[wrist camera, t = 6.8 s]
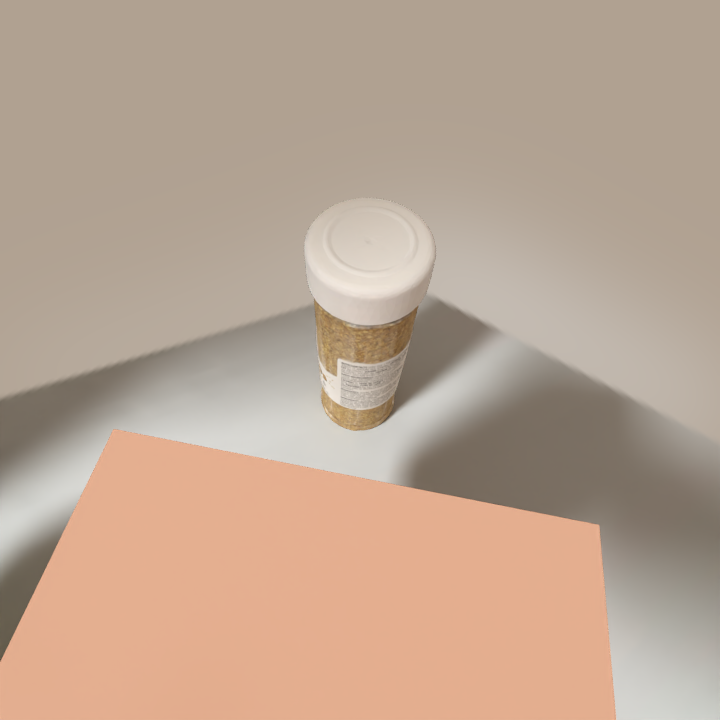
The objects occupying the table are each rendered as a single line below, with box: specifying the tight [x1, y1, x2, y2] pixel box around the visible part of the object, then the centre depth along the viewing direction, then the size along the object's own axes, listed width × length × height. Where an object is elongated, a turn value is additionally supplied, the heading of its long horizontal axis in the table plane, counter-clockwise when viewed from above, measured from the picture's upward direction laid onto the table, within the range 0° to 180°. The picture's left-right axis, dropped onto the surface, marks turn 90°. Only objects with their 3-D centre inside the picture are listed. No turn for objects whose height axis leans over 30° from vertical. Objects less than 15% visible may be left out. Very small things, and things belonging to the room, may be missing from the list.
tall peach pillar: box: [0, 429, 616, 720], centre depth 9 cm, size 6×6×11 cm
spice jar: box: [304, 198, 436, 431], centre depth 20 cm, size 5×5×13 cm
